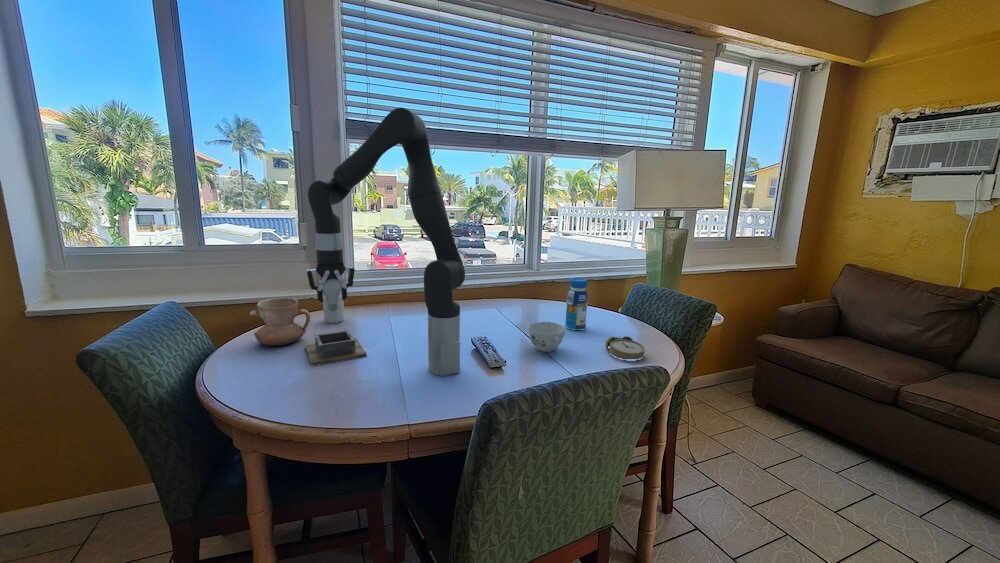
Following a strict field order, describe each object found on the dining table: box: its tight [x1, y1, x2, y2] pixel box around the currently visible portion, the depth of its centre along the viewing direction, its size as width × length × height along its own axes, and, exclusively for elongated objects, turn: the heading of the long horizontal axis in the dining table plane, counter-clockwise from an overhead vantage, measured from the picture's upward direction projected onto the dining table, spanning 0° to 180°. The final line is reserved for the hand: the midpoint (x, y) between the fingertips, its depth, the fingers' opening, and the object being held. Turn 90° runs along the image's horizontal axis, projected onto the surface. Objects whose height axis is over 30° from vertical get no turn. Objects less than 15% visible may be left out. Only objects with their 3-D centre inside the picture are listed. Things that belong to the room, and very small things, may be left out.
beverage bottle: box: [564, 277, 589, 331], centre depth 159 cm, size 8×8×20 cm
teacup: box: [527, 321, 566, 353], centre depth 136 cm, size 15×12×8 cm
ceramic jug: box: [249, 297, 311, 347], centre depth 136 cm, size 18×14×14 cm
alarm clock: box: [604, 336, 646, 359], centre depth 136 cm, size 11×5×15 cm
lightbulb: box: [322, 279, 342, 312], centre depth 126 cm, size 6×6×11 cm
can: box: [322, 293, 345, 324], centre depth 160 cm, size 8×8×12 cm
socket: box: [305, 330, 367, 366], centre depth 129 cm, size 16×16×5 cm
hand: (332, 300), depth 126 cm, fingers closed on lightbulb, 6 cm apart
